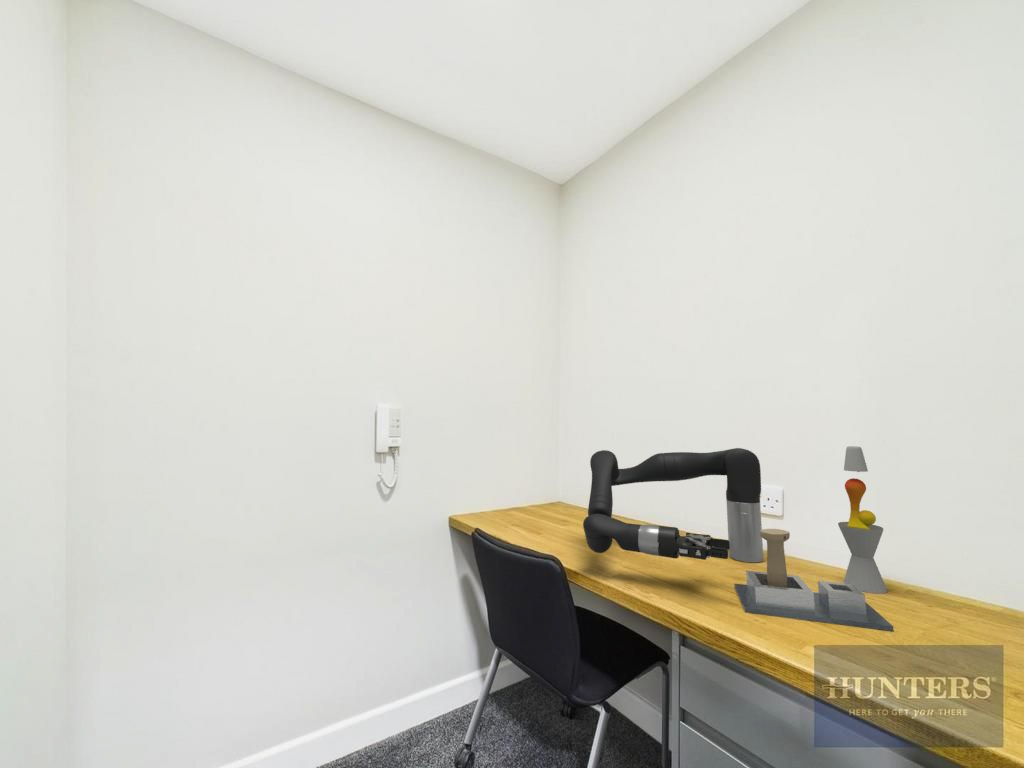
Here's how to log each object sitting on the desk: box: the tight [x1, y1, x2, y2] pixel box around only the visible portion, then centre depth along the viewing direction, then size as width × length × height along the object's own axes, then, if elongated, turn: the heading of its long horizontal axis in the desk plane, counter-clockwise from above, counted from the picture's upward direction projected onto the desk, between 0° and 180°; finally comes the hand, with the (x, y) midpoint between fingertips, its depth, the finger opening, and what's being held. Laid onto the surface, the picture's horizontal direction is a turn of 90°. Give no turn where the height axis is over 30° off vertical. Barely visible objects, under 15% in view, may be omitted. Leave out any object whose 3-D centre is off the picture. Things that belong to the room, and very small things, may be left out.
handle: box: [760, 528, 791, 588], centre depth 97 cm, size 5×6×15 cm
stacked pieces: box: [837, 445, 889, 595], centre depth 109 cm, size 9×9×35 cm
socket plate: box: [733, 570, 894, 632], centre depth 95 cm, size 15×26×5 cm, turn 70°
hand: (728, 549), depth 102 cm, fingers open, 8 cm apart
